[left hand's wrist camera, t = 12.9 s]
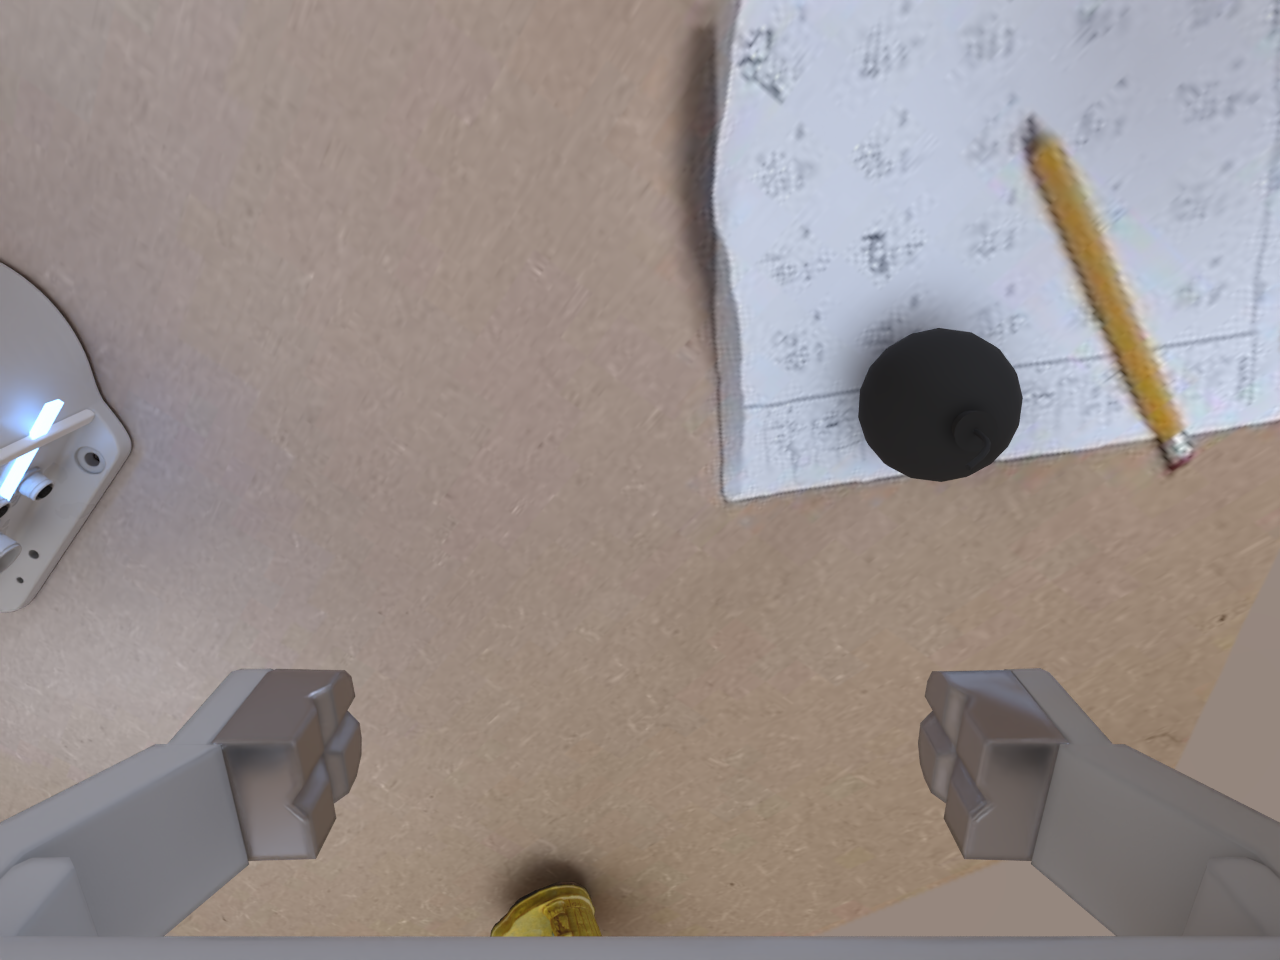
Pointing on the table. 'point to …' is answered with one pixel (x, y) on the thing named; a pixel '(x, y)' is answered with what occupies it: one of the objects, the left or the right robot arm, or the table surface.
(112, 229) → the table surface
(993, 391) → the bomb
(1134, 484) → the table surface
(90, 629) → the table surface
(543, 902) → the shrine
